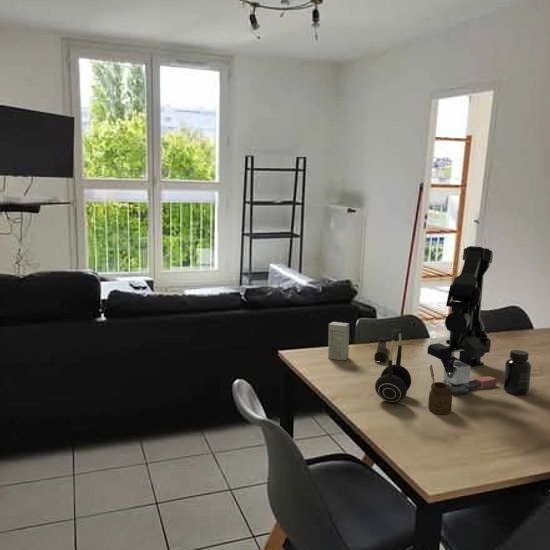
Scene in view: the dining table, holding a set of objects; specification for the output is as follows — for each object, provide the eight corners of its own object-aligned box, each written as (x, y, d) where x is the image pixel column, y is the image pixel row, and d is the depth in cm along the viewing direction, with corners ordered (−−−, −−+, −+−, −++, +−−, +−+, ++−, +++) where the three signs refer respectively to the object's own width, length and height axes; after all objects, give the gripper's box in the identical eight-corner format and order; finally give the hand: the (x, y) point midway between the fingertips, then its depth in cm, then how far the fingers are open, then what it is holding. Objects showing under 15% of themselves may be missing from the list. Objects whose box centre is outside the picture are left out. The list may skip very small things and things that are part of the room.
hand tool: (386, 364, 175) (387, 350, 174) (374, 362, 176) (374, 349, 175) (389, 347, 193) (390, 335, 192) (378, 346, 194) (379, 334, 193)
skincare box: (348, 357, 180) (350, 323, 178) (345, 361, 176) (346, 326, 174) (331, 354, 182) (332, 320, 180) (327, 358, 178) (328, 323, 176)
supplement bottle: (527, 388, 155) (531, 350, 153) (529, 397, 149) (534, 357, 147) (502, 385, 158) (506, 347, 156) (503, 393, 151) (508, 354, 149)
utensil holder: (448, 417, 135) (451, 373, 133) (423, 411, 138) (427, 368, 136) (453, 409, 140) (457, 366, 138) (430, 403, 143) (433, 361, 141)
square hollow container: (456, 376, 156) (458, 360, 155) (469, 382, 151) (470, 365, 150) (443, 378, 154) (445, 362, 153) (455, 384, 149) (457, 368, 148)
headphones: (371, 405, 141) (375, 334, 138) (382, 386, 155) (386, 321, 151) (403, 411, 138) (408, 338, 135) (412, 391, 151) (417, 325, 148)
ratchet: (483, 379, 162) (484, 364, 161) (501, 388, 156) (503, 372, 155) (437, 387, 155) (438, 371, 154) (454, 396, 148) (456, 380, 147)
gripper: (456, 335, 139) (451, 391, 141) (507, 329, 146) (502, 381, 149) (428, 325, 149) (424, 376, 151) (477, 319, 156) (473, 368, 159)
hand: (456, 376), depth 152 cm, fingers closed on square hollow container, 5 cm apart
